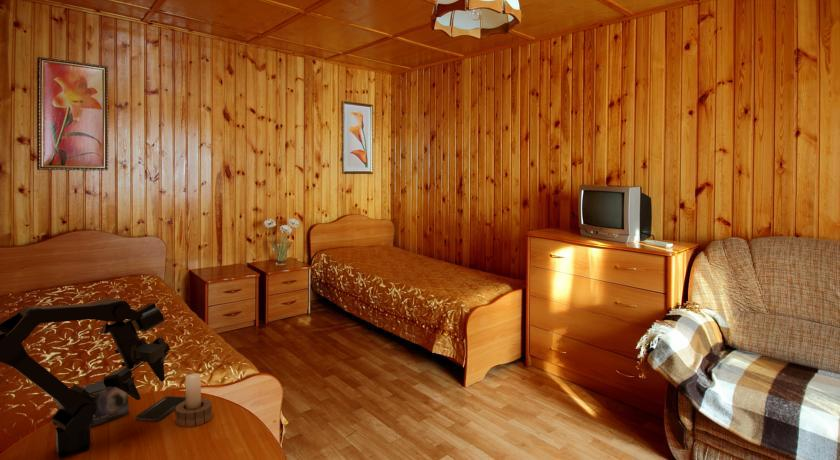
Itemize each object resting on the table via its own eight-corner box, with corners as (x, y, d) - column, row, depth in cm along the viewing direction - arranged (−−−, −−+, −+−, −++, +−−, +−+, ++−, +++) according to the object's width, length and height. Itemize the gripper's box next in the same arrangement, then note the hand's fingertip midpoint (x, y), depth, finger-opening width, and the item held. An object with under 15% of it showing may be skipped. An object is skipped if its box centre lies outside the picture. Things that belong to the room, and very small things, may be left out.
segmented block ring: (182, 430, 137) (182, 416, 136) (171, 417, 143) (171, 404, 143) (216, 419, 143) (216, 406, 143) (204, 408, 150) (204, 395, 150)
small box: (91, 428, 136) (89, 392, 135) (79, 422, 140) (78, 387, 139) (130, 414, 145) (129, 380, 144) (118, 408, 149) (117, 375, 148)
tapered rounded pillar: (189, 423, 140) (188, 379, 139) (184, 418, 143) (183, 375, 142) (203, 419, 143) (202, 376, 142) (198, 414, 146) (197, 372, 145)
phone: (133, 417, 141) (166, 395, 156) (133, 421, 142) (166, 399, 156) (159, 419, 141) (189, 397, 155) (159, 423, 141) (189, 400, 156)
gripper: (122, 351, 123) (148, 405, 126) (173, 320, 141) (195, 367, 144) (90, 360, 126) (116, 412, 129) (144, 328, 144) (166, 374, 147)
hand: (151, 390), depth 137 cm, fingers open, 9 cm apart
